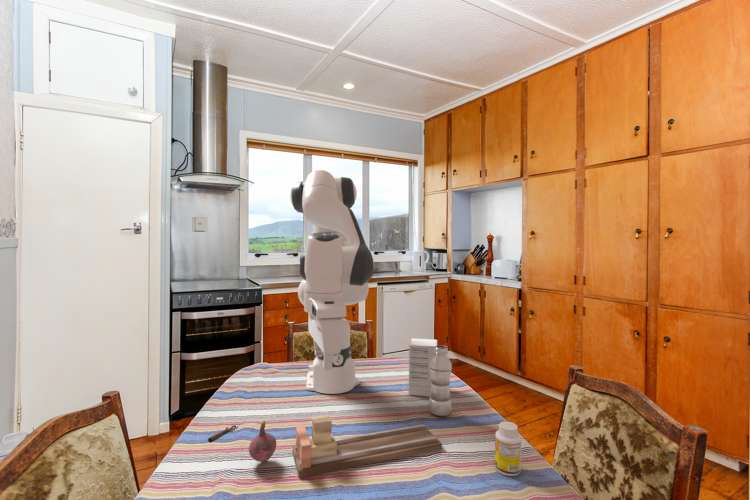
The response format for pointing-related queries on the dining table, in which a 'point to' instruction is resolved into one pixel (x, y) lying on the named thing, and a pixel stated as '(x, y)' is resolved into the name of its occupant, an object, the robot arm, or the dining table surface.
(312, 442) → the block
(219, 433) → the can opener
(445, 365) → the plastic bottle
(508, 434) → the supplement bottle
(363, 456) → the rail board
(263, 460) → the vegetable
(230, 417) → the dining table surface
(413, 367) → the supplement box
